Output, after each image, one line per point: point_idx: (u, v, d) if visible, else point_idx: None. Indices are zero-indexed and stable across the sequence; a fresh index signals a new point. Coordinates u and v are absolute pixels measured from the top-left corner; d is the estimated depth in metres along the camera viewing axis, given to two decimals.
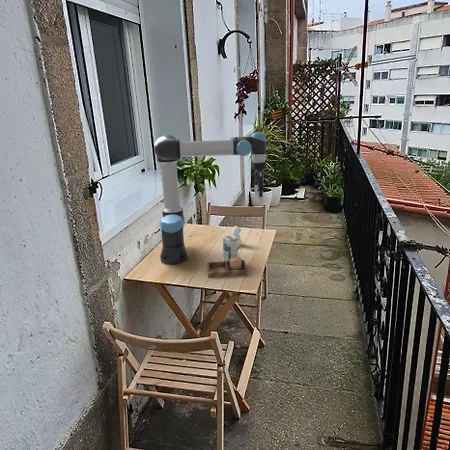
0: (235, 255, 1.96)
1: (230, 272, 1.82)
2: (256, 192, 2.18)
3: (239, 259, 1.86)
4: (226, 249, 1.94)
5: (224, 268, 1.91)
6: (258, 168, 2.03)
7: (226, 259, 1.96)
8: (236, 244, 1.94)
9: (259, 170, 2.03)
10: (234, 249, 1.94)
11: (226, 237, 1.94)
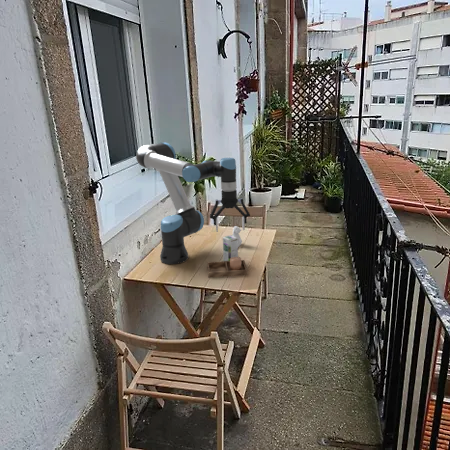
0: (235, 255, 1.96)
1: (230, 272, 1.82)
2: (242, 225, 1.93)
3: (239, 259, 1.86)
4: (226, 249, 1.94)
5: (224, 268, 1.91)
6: None
7: (226, 259, 1.96)
8: (236, 244, 1.94)
9: None
10: (234, 249, 1.94)
11: (226, 237, 1.94)
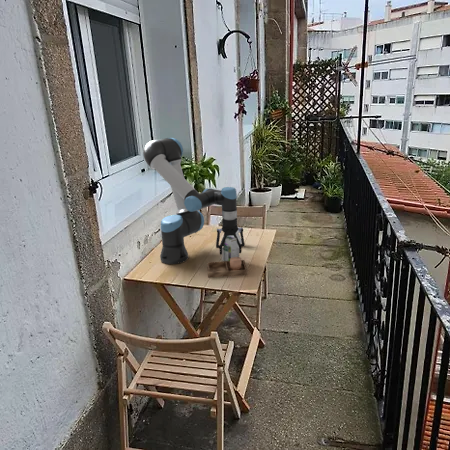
0: (235, 255, 1.96)
1: (230, 272, 1.82)
2: None
3: (239, 259, 1.86)
4: (226, 249, 1.94)
5: (224, 268, 1.91)
6: None
7: (226, 259, 1.96)
8: (236, 243, 1.94)
9: (222, 226, 1.92)
10: (234, 249, 1.94)
11: (226, 237, 1.94)
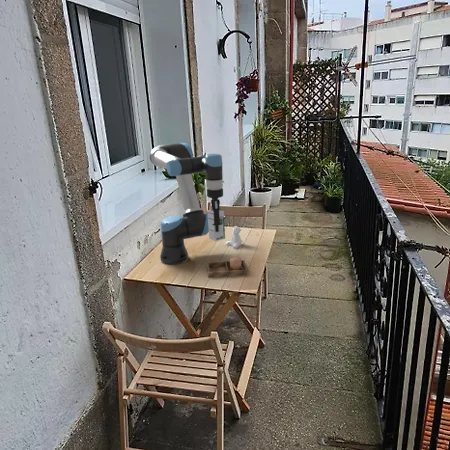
0: None
1: (230, 272, 1.82)
2: None
3: (239, 259, 1.86)
4: (220, 222, 1.77)
5: (224, 268, 1.91)
6: (214, 196, 1.71)
7: (220, 234, 1.79)
8: None
9: (215, 199, 1.72)
10: None
11: None
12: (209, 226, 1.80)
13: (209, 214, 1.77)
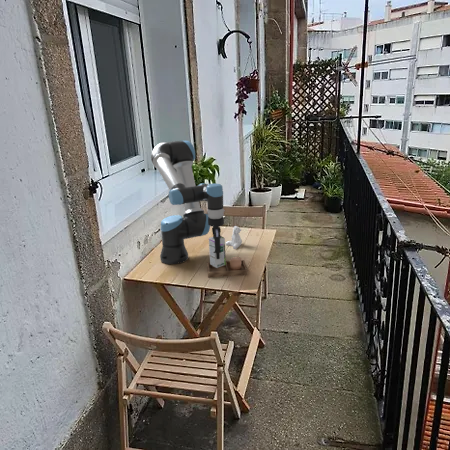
0: None
1: (230, 272, 1.82)
2: None
3: (239, 259, 1.86)
4: (221, 250, 1.82)
5: (224, 268, 1.91)
6: (215, 225, 1.76)
7: (221, 261, 1.83)
8: None
9: (216, 227, 1.76)
10: None
11: None
12: (210, 253, 1.84)
13: (210, 241, 1.82)
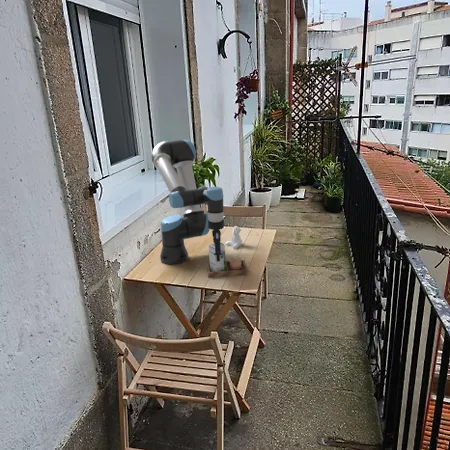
0: None
1: (230, 272, 1.82)
2: None
3: (239, 259, 1.86)
4: None
5: None
6: (215, 228, 1.76)
7: (221, 267, 1.85)
8: None
9: (216, 230, 1.77)
10: None
11: None
12: (210, 259, 1.86)
13: (210, 248, 1.83)
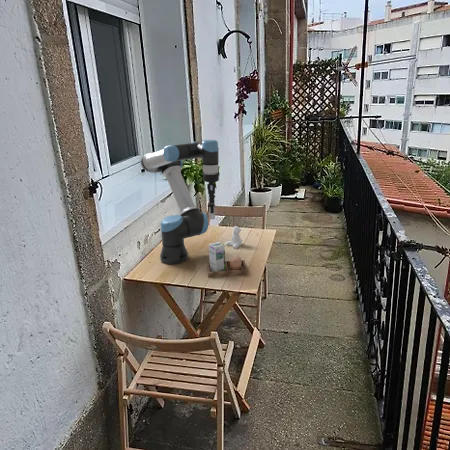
0: None
1: (230, 272, 1.82)
2: None
3: (239, 259, 1.86)
4: (220, 256, 1.83)
5: None
6: (209, 181, 1.79)
7: (221, 267, 1.85)
8: None
9: (210, 183, 1.80)
10: None
11: (216, 245, 1.81)
12: (210, 259, 1.86)
13: (210, 248, 1.83)
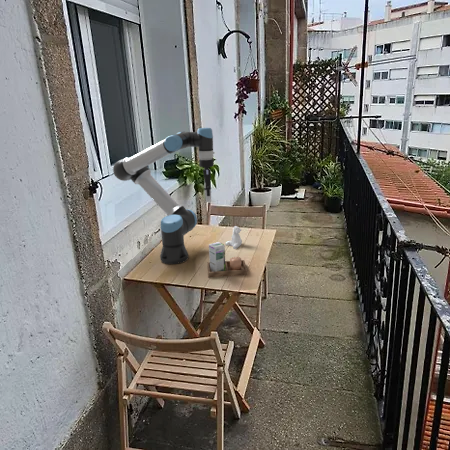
0: None
1: (230, 272, 1.82)
2: None
3: (239, 259, 1.86)
4: (220, 256, 1.83)
5: None
6: (205, 166, 1.92)
7: (221, 267, 1.85)
8: None
9: (206, 168, 1.93)
10: None
11: (216, 245, 1.81)
12: (210, 259, 1.86)
13: (210, 248, 1.83)
